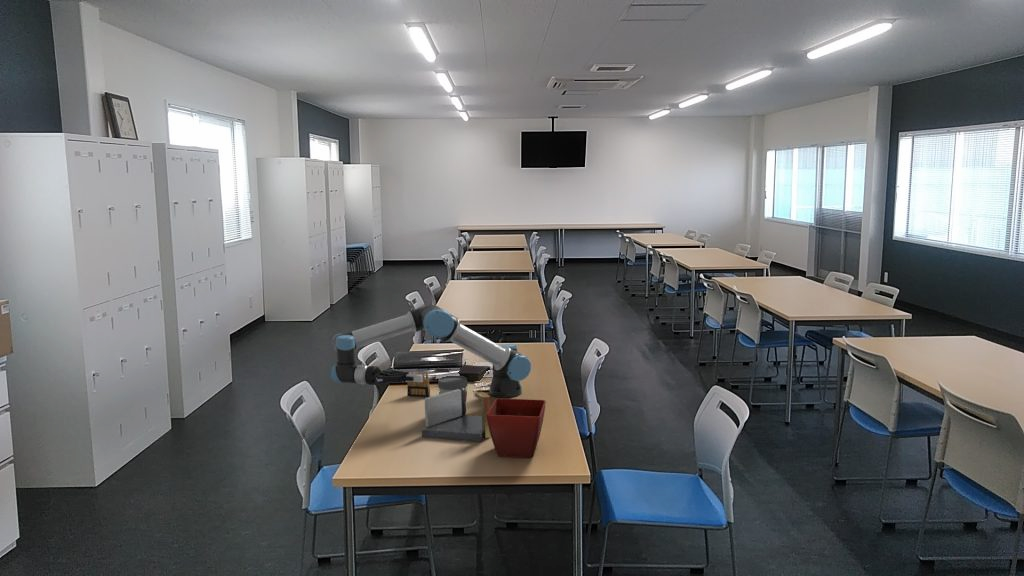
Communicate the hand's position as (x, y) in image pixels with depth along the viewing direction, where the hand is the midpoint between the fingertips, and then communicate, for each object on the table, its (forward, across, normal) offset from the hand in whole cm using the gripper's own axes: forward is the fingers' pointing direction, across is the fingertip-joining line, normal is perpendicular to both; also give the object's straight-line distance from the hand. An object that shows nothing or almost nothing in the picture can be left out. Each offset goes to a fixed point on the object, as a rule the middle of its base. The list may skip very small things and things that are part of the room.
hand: (421, 378), depth 276 cm
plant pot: (+43, +14, -21) cm, 50 cm away
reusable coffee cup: (+5, -22, -21) cm, 31 cm away
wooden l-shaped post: (+26, +1, -21) cm, 33 cm away
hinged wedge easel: (+9, -4, -18) cm, 20 cm away
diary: (-11, -78, -22) cm, 82 cm away
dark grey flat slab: (+15, -2, -21) cm, 26 cm away
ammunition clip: (-20, -41, -21) cm, 50 cm away
